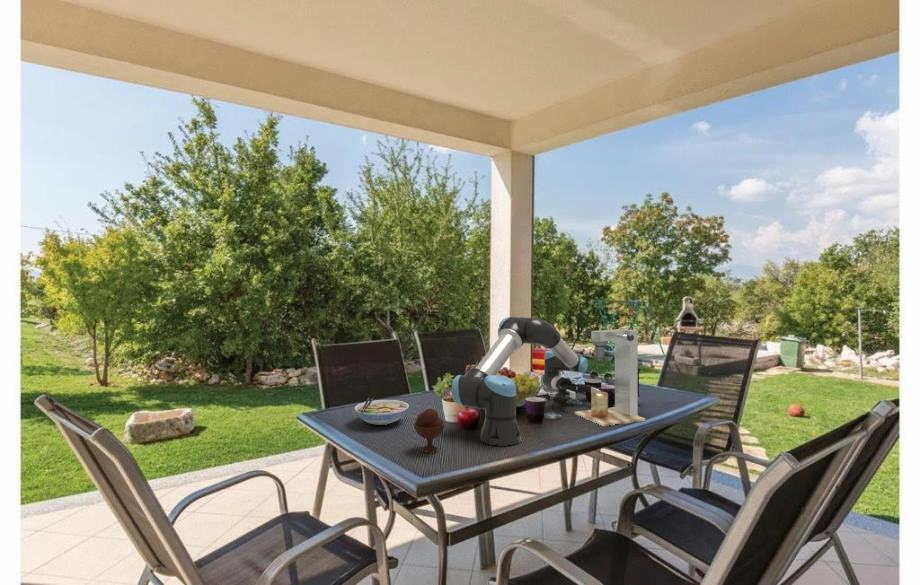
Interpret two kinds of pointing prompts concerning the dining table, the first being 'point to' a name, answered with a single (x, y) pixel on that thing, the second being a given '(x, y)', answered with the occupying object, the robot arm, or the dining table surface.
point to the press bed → (610, 417)
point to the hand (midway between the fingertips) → (587, 394)
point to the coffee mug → (591, 382)
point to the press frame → (622, 366)
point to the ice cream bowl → (429, 427)
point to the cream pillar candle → (599, 404)
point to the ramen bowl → (381, 411)
